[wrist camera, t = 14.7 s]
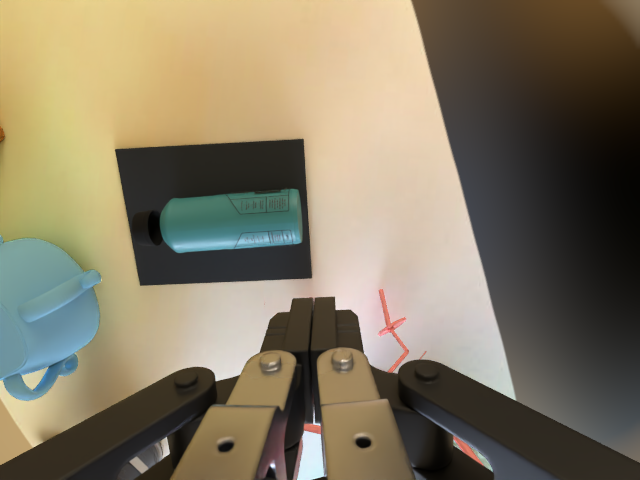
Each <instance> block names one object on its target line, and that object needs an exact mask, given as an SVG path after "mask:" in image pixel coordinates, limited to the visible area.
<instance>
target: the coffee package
mask: <svg viewBox="0 0 640 480" xmlns="http://www.w3.org/2000/svg"><path fill="white" fill-rule="evenodd" d="M4 137H5V135H4V132H3V129H2V128H1V127H0V142H1V141H2V140H3V139H4Z"/></svg>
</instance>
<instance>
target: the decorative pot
mask: <svg viewBox="0 0 640 480" xmlns="http://www.w3.org/2000/svg"><path fill="white" fill-rule="evenodd" d="M100 282H101V275H100V273H99V272H98V271H96V270H89V271H86V272H84V271H83V270H82V268H81V267H80V266H79V265H78V264H77V263H76V262H75V260H74V259H73V258H71V257H70V256H69V255H68V254H67V253H66V252H65V251H63V250H62V249H61V248H59V247H58V246H56V245H54V244H52V243H49V242H47V241H44V240H41V239H36V238H22V239H17V240H12V241H8V242H5V243H3V238H2V236H1V235H0V380H3V382H4V385H5V388H6V390H7V391H8V392H9V394H10V395H12V396H13V397H15V398H16V399H19V400H24V401H29V400H34V399H37V398H39V397H41V396H43V395H44V394H45V393H47V392H48V391H49V389H50V388H51V387H52V386H53V384H54V383H55V381H56V379H57V377H58V376H59V375H61V376H67V375H70V374H71V373H73V372H74V371H75V370H76V369H77V367H78V358H77V356H76V354H74V353H75V352H77V351H78V350H80V349H81V348H83V347H84V346H85V345H87V344H88V343H89V342H90V341H91V340H92V339H93V338H94V336H95V334H96V332H97V330H98V327H99V320H100V312H99V305H98V301H97V297H96V294H95V291H94V289H93V286H94V285H96V284H98V283H100ZM48 366H49V368H48V369H47V371H46V373H45V375H44V376H43V378H42V380H41V381H40V383H39V384H38V385H37V387H36V388H35V389H34V390H31V389H30V388H28V387H27V386H26V384H25V383H24V381H23V379H22V377H21V375H25V374H29V373H32V372H35V371H38V370H41V369H43V368H46V367H48ZM64 366H65V367H64Z"/></svg>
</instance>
